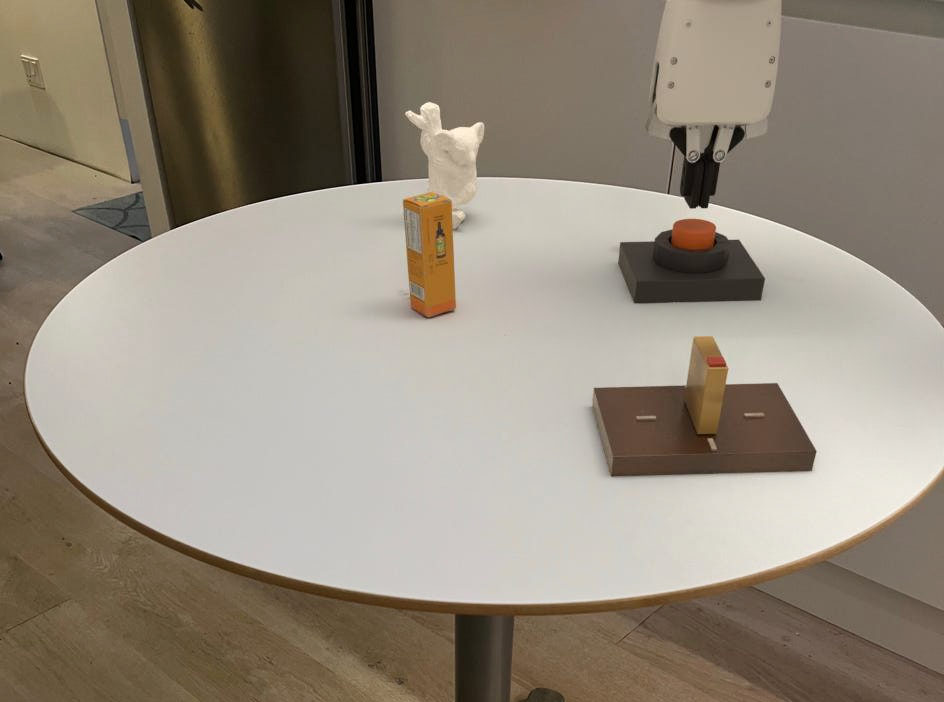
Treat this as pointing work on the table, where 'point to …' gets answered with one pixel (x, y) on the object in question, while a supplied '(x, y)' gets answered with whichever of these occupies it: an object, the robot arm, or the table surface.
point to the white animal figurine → (449, 157)
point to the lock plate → (683, 450)
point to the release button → (693, 234)
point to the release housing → (689, 271)
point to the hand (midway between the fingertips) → (695, 203)
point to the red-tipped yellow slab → (705, 384)
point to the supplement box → (430, 253)
